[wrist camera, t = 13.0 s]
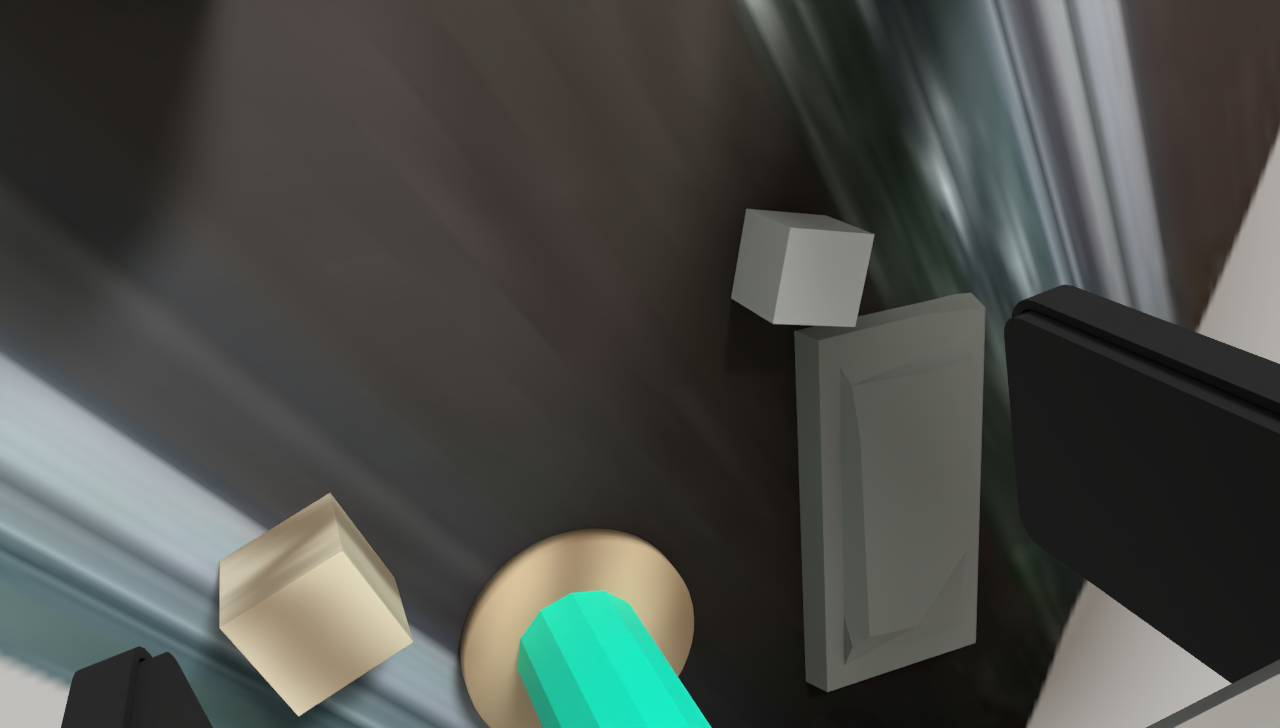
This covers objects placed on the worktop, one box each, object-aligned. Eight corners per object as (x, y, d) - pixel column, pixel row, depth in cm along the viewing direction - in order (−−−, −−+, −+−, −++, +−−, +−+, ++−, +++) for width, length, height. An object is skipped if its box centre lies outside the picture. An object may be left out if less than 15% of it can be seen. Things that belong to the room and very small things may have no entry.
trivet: (662, 495, 48) (672, 506, 47) (700, 679, 52) (710, 694, 51) (431, 580, 45) (436, 594, 44) (492, 768, 50) (498, 785, 48)
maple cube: (329, 491, 42) (342, 550, 38) (394, 577, 45) (413, 641, 40) (219, 559, 42) (219, 628, 37) (290, 643, 44) (298, 716, 39)
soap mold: (797, 677, 56) (831, 718, 52) (784, 327, 48) (823, 350, 45) (958, 623, 59) (999, 658, 56) (970, 286, 51) (1018, 305, 48)
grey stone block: (825, 215, 46) (874, 234, 43) (808, 301, 48) (855, 326, 44) (745, 208, 45) (790, 227, 41) (730, 297, 46) (772, 324, 42)
